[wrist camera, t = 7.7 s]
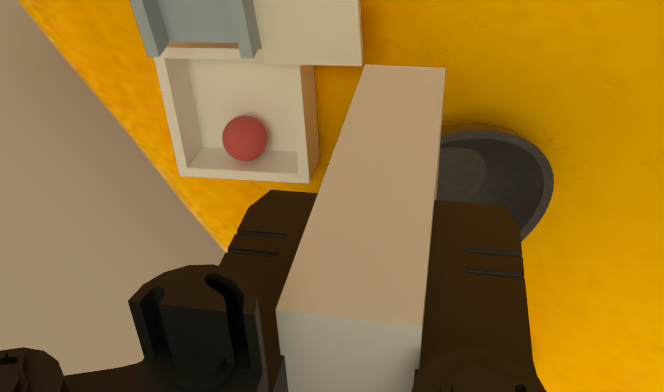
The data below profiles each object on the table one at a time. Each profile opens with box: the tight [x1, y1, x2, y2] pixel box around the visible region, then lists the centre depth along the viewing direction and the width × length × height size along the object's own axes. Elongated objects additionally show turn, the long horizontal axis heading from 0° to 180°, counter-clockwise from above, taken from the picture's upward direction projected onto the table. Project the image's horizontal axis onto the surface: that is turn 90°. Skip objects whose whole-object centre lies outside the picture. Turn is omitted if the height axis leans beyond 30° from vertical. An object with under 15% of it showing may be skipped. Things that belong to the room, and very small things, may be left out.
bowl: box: [436, 124, 554, 241], centre depth 48 cm, size 12×22×6 cm, turn 132°
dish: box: [154, 42, 320, 184], centre depth 47 cm, size 11×11×4 cm
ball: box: [222, 116, 268, 161], centre depth 49 cm, size 4×4×4 cm
